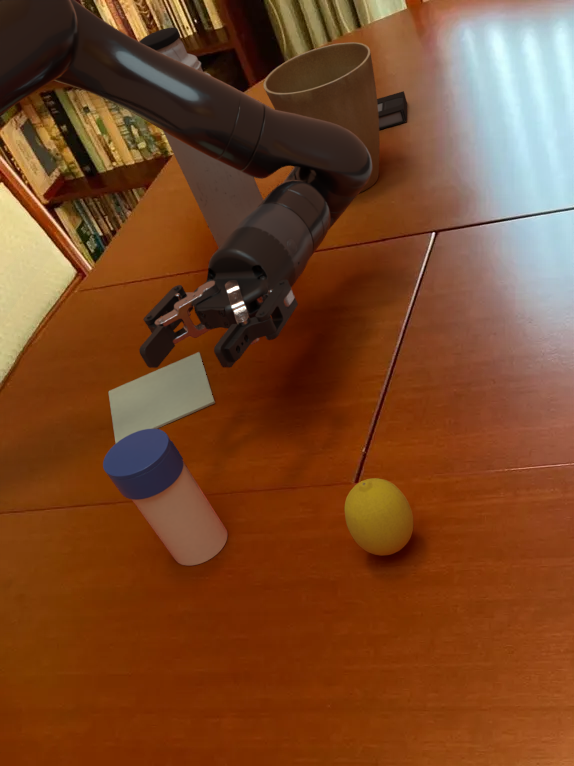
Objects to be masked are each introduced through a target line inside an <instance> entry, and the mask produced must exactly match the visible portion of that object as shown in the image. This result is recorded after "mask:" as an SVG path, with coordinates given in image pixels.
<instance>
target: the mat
mask: <svg viewBox="0 0 574 766" xmlns="http://www.w3.org/2000/svg"><path fill="white" fill-rule="evenodd" d="M202 361H203V358H202V354H201V352H200V351H198V352H195V353H193V354H191V355H189V356H186V357H184V358H182V359H180V360H177V361H174V362H173V363H170V364H168V365H166V366H163V367H161V368H158V369H156V370H154V371H152V372H149V373H147V374H145V375H142V376H140V377H138V378H136V379H134V380H130V381H128V382H126V383H124V384H122V385H119V386H117V387H115V388H113V389H110V390H109V391H108V399H109V400H108V401H109V406H110V413H111V421H112V428H113V435H114V441H115V442H114V443H115V444H116V443H117V442H119V441H120V440H121V439H123V438H125V437H126V436H128V435H130V434H132V433H135V432H137V431H140V430H145V429H160V428H162V427H165V426H167V425H169V424H171V423H174V422H176V421H177V420H180V419H183V418H185V417H187V416H190V415H192V414H194V413H196V412H199V411H201V410H203V409H206V408H208V407H210V406H212V405H215V404H216V401H215V398H214V394H213V392H212V388H211V385H210V381H209V377H208V374H207V372H206V368H205V365H203V364H204V362H202ZM206 374H207V375H206ZM212 394H213V395H212Z"/></svg>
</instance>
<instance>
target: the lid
mask: <svg viewBox="0 0 574 766" xmlns="http://www.w3.org/2000/svg"><path fill="white" fill-rule="evenodd" d="M183 461H184V458H183V456H182V455H181V453H180V451H179V450H178V448H177V447H176V445H175V443H174V442H173V440H171V439H170V437H169V435H168V433H166V432H165V431H164V430H163V429H160V428H157V429H145V430H140V431H137V432H135V433H132V434H130V435H128V436H126V437H125V438H123V439H121V440H120V441H119V442H117V443H115V444H113V445H112V446H111V448H109V450H108V451H107V453H106V454H105V455H104V458H103V461H102V468H103V471H104V472H105V473H106V475H107V476H108V477H109V479H110V480H111V482H112V483H113V484H114V486H115V487H116V488H117V490H118V492H120V494H121V495H122V496H123V497H125V499H129V500H132V499H133V500H139V499H145V498H149V497H152V496H154V495H157V494H159V493H161V492H163V491H164V490H166V489H167V488H168V487H170V486H171V485H172V484H173V483H174V482H175V481H176V480H177V479H178V477H179V476H180V474H181V472H182V470H183Z"/></svg>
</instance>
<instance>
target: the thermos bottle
mask: <svg viewBox="0 0 574 766" xmlns="http://www.w3.org/2000/svg"><path fill="white" fill-rule="evenodd" d="M180 37H181V34H180V32H179V29H178V28H177V27H174V26H173V27H166V28H163V29H158V30H155V31H154V32H151V33H150V34H148V35H146V36H143V38H142V39H140V40H138V42H140V43H142V44H144V45H146V46H148V47H150V48H152V49H154V50H156V51H158V52H160V53H162V54H164V55H166V56H168V57H170V58H173V59H175V60H177V61H179V62H181V63H183V64H186V65H188V66H190V67H192V68H194V69H197V70H199V71H201V72H203V73H205V74H207V75H210V76H212V75H211V74H210V73H208V72H204V71H203V68H202V62H201V61H200V60H199V59H198V56H196V55H194V54H191V53H188V52H187V50H186V47H185V45H184V43H183V41H182V40H181V39H180ZM162 132H163V134H164V136H165V138H166V141H167V143H168V144H169V147H170V150H171V151H172V153H173V155H174V157H175V159H176V162H177V164H178V166H179V168H180V170H181V172H182V174H183V176H184V178H185V181H186V183H187V185H188V187H189V189H190V191H191V193H192V195H193V197H194V199H195V201H196V204H197V206H198V208H199V210H200V213H201V214H202V216H203V218H204V220H205V222H206V224H207V226H208V229H209V232H210V233H211V235H212V237H213V239H214V241H215V243H216V245H217V249H218V248H219V247H220V246H221V245H222V244H223V243H224V242H225V240H226V239H227V238H228V237H229V236H230V234H231V233H232V232H233V231H234V230H235V229H236V227H237V226H238V225H239V224H240V223H241V222H242V221H243V220H244V219H245V218H246V217H247V216H248V215H249V214H250V213H252V212H253V211H254V210H255V209H256V208H257V207H258V206H259V205H260V204H261V203H262V201H263V200H264V198H263V195H262V193H261V191H260V189H259V186H258V184H257V182H256V178H255V177H252V176H249V175H247V174H245V173H243V172H241V171H239V170H237V169H235V168H233V167H231V166H228V165H226V164H224V163H222V162H220V161H218V160H216V159H214V158H212V157H210V156H208V155H206V154H204V153H202V152H200V151H198V150H196V149H194V148H192V147H191V146H189V145H187V144H185V143H183V142H182V141H180V140H178V139H176V138H175V137H173V136H171V135H170V134H168V133H166V132H165V131H163V130H162Z"/></svg>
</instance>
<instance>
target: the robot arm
mask: <svg viewBox="0 0 574 766" xmlns="http://www.w3.org/2000/svg"><path fill="white" fill-rule="evenodd" d="M205 73H206V72H204V71H203V72H201V71H199V70H197V69H194V68H192V67H190V66H188V65H186V64H183V63H181V62H179V61H177V60H175V59H173V58H170V57H168V56H166V55H164V54H162V53H160V52H158V51H156V50H154V49H152V48H150V47H148V46H146V45H144V44H142V43H140V42H139V40H137V39H135V38H133V37H132V36H130V35H129V34H128V35H127V34H126V33H124V32H122V31H121V30H120V29H118V28H116V27H114V26H113V25H111V24H110V23H108V22H106V21H105V20H103V19H102V18H100V17H98V15H96V14H95V13H93V12H92V11H90V10H89V9H88V8H86V7H85V6H83V4H81V3H79V2H78V1H77V0H0V116H1V115H3V114H4V113H6V112H7V111H8V110H10V109H11V108H13V107H14V106H16V105H17V104H19V103H20V102H22V101H23V100H24V99H26V98H28V97H29V96H32V94H34V93H36V92H37V91H39V90H40V89H42V88H44V87H45V86H47V85H49V84H50V83H52V82H53V81H55V82H57V83H61V84H64V85H66V86H70V87H72V88H77V89H78V90H79V89H80V90H82V91H85V92H88V93H90V94H92V95H95V96H96V97H99V98H100V99H101V98H102V99H104V100H106V101H108V102H111V103H112V104H114V105H117V106H119V107H121V108H123V109H124V110H126V111H129V112H130V113H132V114H134V115H136V116H138V117H139V118H141V119H142V120H144V121H146V122H148V123H149V124H151V125H153V126H155V127H156V128H158V129H159V130H161V131H162V132H163V131H165V132H166V133H168V134H170V135H171V136H173V137H175V138H176V139H178V140H180V141H182V142H183V143H185V144H187V145H189V146H191V147H192V148H194V149H196V150H198V151H200V152H202V153H204V154H206V155H208V156H210V157H212V158H214V159H216V160H218V161H220V162H222V163H224V164H226V165H228V166H231V167H233V168H235V169H237V170H239V171H241V172H243V173H245V174H247V175H249V176H252V177H254V179H258V180H259V179H260V180H262V179H267V178H268V177H270V176H271V175H273V174H275V173H276V172H278V171H279V170H280V169H282V168H285V167H293V168H292V169H291V170H290V172H289V173H288V174H287V176H286V177H285V179H284V180H283V181H282V182H281V183H280V184H278V185H276V186H275V187H274V188H273V189H271V191H270V192H269V193H268V194H267V195H266V197H265V198H263V201H262V203H261V204H260V205H259V206H258V207H257V208H256V209H255V210H254V211H253V212H252V213H250V214H249V215H248V216H247V217H246V218H245V219H244V220H243V221H242V222H241V223H240V224H239V225H238V226H237V227H236V229H235V230H234V231H233V232H232V233H231V234H230V236H229V237H228V238H227V239H226V240H225V242H224V243H223V244H222V245H221V246H220V247H219V248H218V247H217V249H216V250H215V252H214V253H212V255H211V257H210V259H209V261H208V266H207V277H206V282H204V283H203V284H202V285H199V286H198V287H197V288H196V289H195V290H194V291H192V292H187V291H185V289H184V287H183V285H182V284H176V285H175V286H173V287H171V289H170V290H169V291H168V292H167V293H166V294H165V295H164V296H163V297H161V299H160V301H158V302H157V303H156V305H155V306H154V307H152V309H150V311H148V312H147V314H146V315H145V316H144V317H143V321H144V323H145V325H146V326H147V328H148V329H149V331H150V333H151V334H149V336H148V337H147V338H146V339H145V340H144V342H143V343H142V344H141V345H140V347H139V349H138V350H139V355H140V357H141V359H142V360H143V361H144V363H145V365H146V366H147V367H148V368H149V369H157V368H159V367H160V366H161V364H162V363H163V362H164V360H165V359H166V358H167V357H168V356H169V354H170V353H171V352H172V351H173V349H174V348H175V347H176V344H178V343H180V342H182V341H183V340H185V339H187V338H189V337H191V338H193V339H197V338H199V337H201V336H203V335H204V334H206V333H208V332H209V331H211V330H215V329H220V328H221V329H226V331H225V332H224V334H223V335H222V336H221V337H220V339H219V340H218V341H217V343H215V345H214V346H213V347H214V348H213V352H214V355H215V357H216V358H217V360H218V362H219V364H220V366H221V368H232V367H233V366H234V365H235V363H236V362H237V361H238V360H240V359H241V358H242V357H243V355H244V353H245V352H246V351H247V350H248V348H249V347H250V346H251V345H254V344H257V343H258V342H259V341H260V339H261V338H263V337H265V339H266V340H267V341H273V340H275V339H277V338H278V337H279V336H280V334H281V332H282V330H283V329H284V327H285V326H286V324H287V323H288V321H289V319H290V318H291V316H292V315H293V313H294V311H295V310H296V308H297V307H298V305H299V303H298V301H297V298H296V296H295V294H294V291H293V289H292V287H293V286H294V285H295V284H296V282H297V281H298V279H299V278H300V276H301V275H302V274H303V272H304V271H305V269H306V267H307V265H308V263H309V261H310V259H311V258H312V257H313V255H314V253H315V252H316V251H317V249H318V248H319V247H320V246H321V244H322V242H323V241H324V239H325V238H326V236H327V234H328V232H329V230H330V229H331V228H332V227H333V226H334V225H335V224H336V222H337V221H338V220H339V219H340V218H341V216H342V215H343V214H344V212H345V211H346V210H347V209H348V208H349V206H350V205H351V204H352V203H353V201H355V199H356V197H357V196H359V194H360V193H361V192H360V191H361V190H362V189H363V187H364V186H365V185H366V184H367V182H368V180H369V178H370V176H371V174H372V167H373V166H372V159H371V156H370V153H369V151H368V149H367V147H366V146H365V145H364V143H363V142H362V141H361V140H360V139H359V138H358V137H357V136H356V135H355V134H354V133H352V132H351V131H349V130H348V129H346V128H344V127H342V126H340V125H338V124H335V123H332V122H328V121H324V120H320V119H315V118H311V117H306V116H302V115H298V114H294V113H289V112H284V111H279V110H275V108H274V107H273V108H272V107H271V106H269V105H267V104H265V103H263V101H260V100H258V99H256V98H254V97H252V96H250V95H249V94H247V93H245V92H243V91H241V90H240V89H237V88H235V87H234V86H232V85H230V84H228V83H226V82H225V81H222V80H220V79H218V78H216V77H214V76H212V75H211V74H210V75H211V76H210V75H207V74H205ZM359 192H360V193H359ZM193 310H194V313H195V315H196V317H197V319H198V320H199V322H200V323H198V324H194V321H193V320H192V317H190V316H191V314H192V313H191V312H192V311H193ZM181 323H182V324H183V327H182V328H180V329H178V330H176V329H177V328H178V327H179V325H180V324H181ZM175 330H176V331H175Z"/></svg>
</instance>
